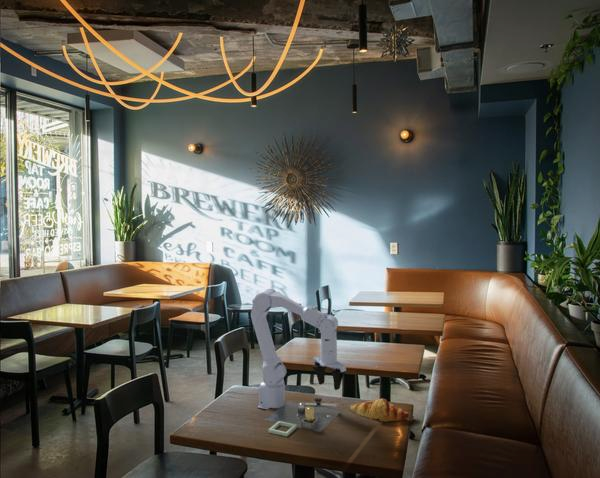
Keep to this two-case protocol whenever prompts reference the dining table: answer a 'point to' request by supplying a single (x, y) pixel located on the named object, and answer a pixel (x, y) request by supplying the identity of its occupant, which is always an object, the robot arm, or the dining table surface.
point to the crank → (314, 405)
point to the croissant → (379, 410)
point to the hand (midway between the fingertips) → (329, 386)
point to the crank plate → (303, 416)
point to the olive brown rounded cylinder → (309, 414)
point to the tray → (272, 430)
